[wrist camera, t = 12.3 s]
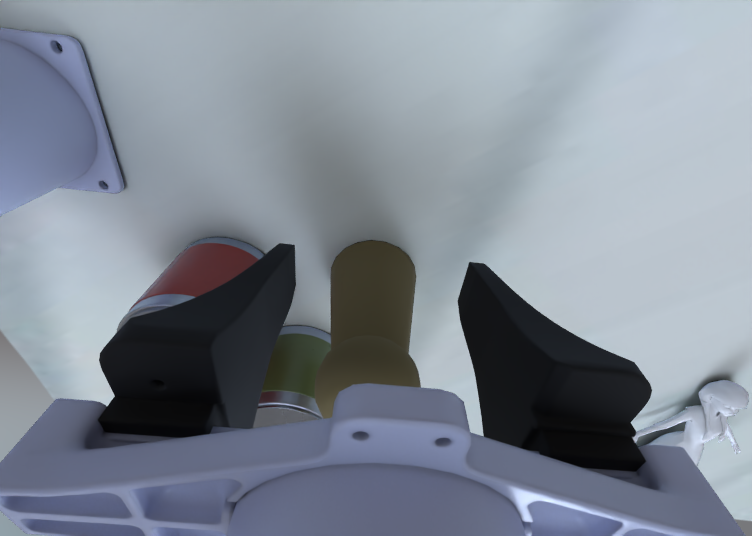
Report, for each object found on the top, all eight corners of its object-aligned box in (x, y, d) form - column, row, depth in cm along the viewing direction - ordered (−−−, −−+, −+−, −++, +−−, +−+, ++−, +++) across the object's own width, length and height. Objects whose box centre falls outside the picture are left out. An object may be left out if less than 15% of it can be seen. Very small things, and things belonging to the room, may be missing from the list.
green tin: (242, 359, 30) (207, 440, 24) (290, 309, 27) (263, 389, 21) (313, 396, 33) (298, 478, 27) (366, 355, 30) (361, 438, 24)
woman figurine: (591, 521, 36) (688, 402, 27) (571, 476, 40) (649, 359, 31) (703, 529, 36) (834, 413, 27) (672, 484, 40) (779, 369, 31)
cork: (381, 223, 23) (378, 355, 14) (432, 284, 25) (458, 428, 16) (312, 270, 25) (271, 411, 16) (366, 321, 28) (357, 467, 19)
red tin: (210, 326, 28) (163, 407, 22) (155, 248, 24) (80, 320, 18) (298, 311, 27) (273, 391, 21) (256, 225, 23) (212, 294, 17)
